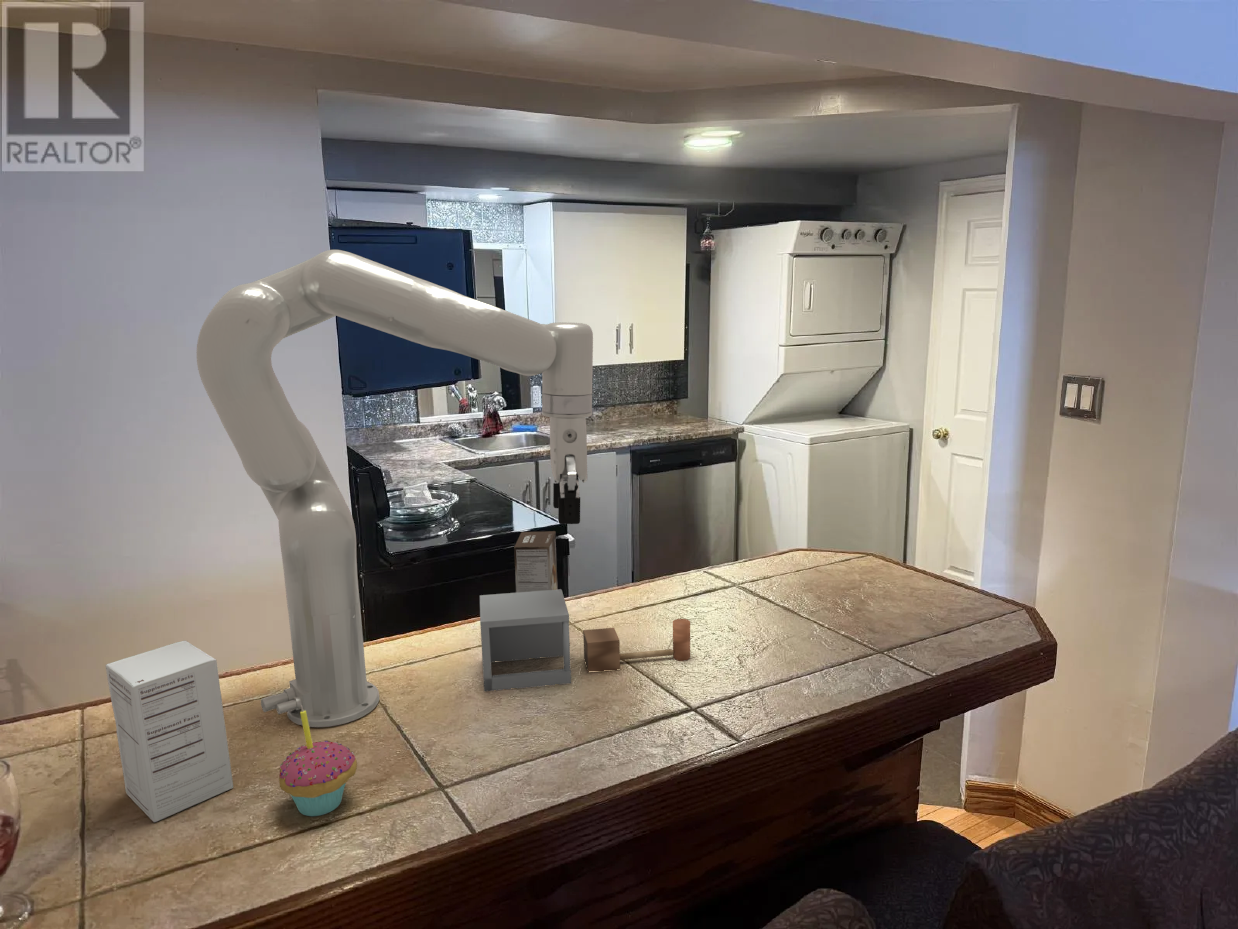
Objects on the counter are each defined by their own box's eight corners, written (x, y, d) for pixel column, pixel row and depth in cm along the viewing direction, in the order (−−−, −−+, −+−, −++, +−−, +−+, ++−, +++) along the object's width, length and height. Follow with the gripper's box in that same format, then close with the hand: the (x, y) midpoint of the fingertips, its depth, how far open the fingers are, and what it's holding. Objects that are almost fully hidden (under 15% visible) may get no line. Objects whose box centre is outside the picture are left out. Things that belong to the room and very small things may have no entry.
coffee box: (524, 615, 152) (520, 530, 149) (559, 614, 152) (556, 530, 149) (517, 635, 143) (513, 546, 140) (554, 635, 143) (551, 546, 140)
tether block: (588, 673, 129) (587, 636, 128) (584, 659, 134) (583, 624, 132) (694, 662, 132) (694, 627, 130) (686, 649, 136) (686, 615, 135)
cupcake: (266, 810, 96) (255, 715, 93) (328, 775, 103) (320, 685, 100) (313, 836, 91) (303, 736, 89) (375, 797, 98) (367, 704, 96)
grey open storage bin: (484, 691, 123) (480, 622, 121) (483, 659, 134) (479, 595, 132) (571, 683, 126) (568, 614, 123) (563, 652, 136) (561, 589, 134)
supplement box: (235, 788, 100) (219, 659, 97) (153, 825, 94) (133, 687, 90) (202, 760, 107) (186, 637, 103) (123, 792, 100) (103, 662, 96)
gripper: (599, 413, 118) (597, 529, 121) (585, 398, 134) (583, 501, 138) (546, 412, 116) (545, 531, 120) (538, 398, 133) (538, 502, 136)
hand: (566, 515), depth 129 cm, fingers open, 9 cm apart
